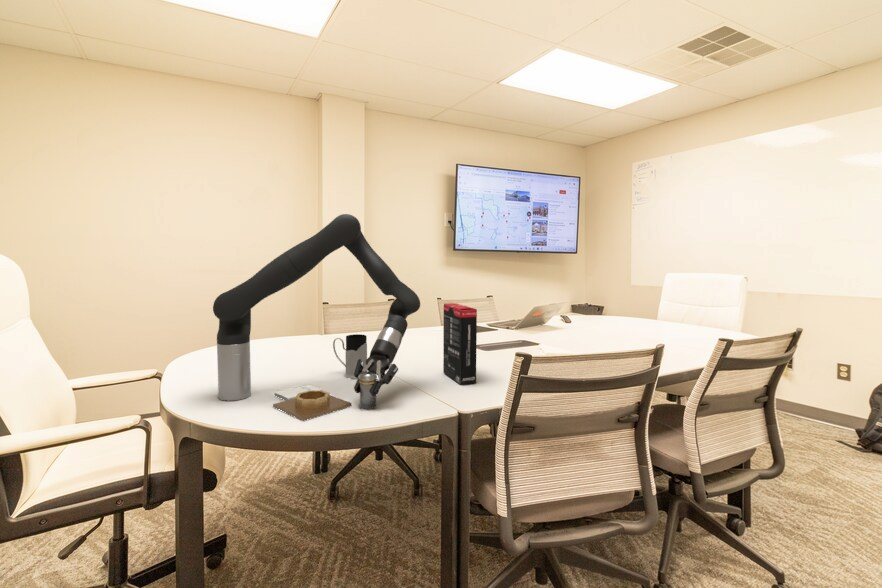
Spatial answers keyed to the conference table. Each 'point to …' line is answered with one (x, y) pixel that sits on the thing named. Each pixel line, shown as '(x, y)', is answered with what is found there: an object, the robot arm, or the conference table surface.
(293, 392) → the external hard drive
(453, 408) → the conference table surface
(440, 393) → the conference table surface
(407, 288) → the robot arm
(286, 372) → the conference table surface
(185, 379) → the conference table surface
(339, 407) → the octagon frame base plate
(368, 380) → the cylinder
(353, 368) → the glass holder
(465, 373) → the graphics card box
